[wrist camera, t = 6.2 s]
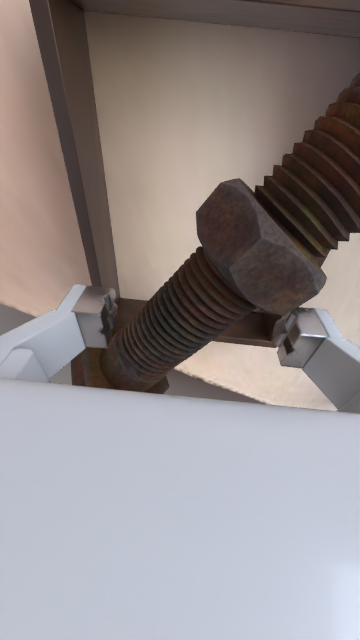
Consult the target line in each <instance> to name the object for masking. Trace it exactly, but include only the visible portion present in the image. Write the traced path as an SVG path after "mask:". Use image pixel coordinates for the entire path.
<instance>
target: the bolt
mask: <svg viewBox="0 0 360 640" xmlns="http://www.w3.org/2000/svg"><path fill="white" fill-rule="evenodd" d="M196 223H197V235H198V238H199V240H200V242H201V244H202V246H203V247H198V248H197V249H196V253H192V254H191V255H190V258H189V259H187V260H186V261H185V263H184V265H182V266H180V268H179V269H178V270H177V271H176V272H175V273H174V275H173V276H172V277H170V278H169V281H167V282H165V283H164V286H162V287H161V288H160V289H159V290H158V291H157V292H156V293H155V295H154V296H153V297H152V298H151V299H150V300H149V301H148V302H147V303H146V304H145V305H144V306H143V307H142V309H140V310H139V312H138V313H137V314H136V315H135V316H134V317H133V318H132V319H131V321H129V322H128V323H127V325H126V326H123V325H122V324H120V323H118V322H117V324H116V327H115V328H114V329H113V330H111V333H112V337H111V340H110V343H109V345H108V348H94V347H86V348H85V349H84V350H83V351H82V352H80V353H79V354H78V355H77V356H76V357H75V358H73V359H72V360H71V375H72V385H74V386H84V387H94V388H105V389H115V390H125V391H135V392H145V393H155V394H163V393H164V392H165V391H166V390H167V389H168V388H169V384H168V380H167V377H166V375H167V373H168V372H169V371H171V369H173V368H174V367H175V366H177V365H178V364H180V363H181V362H183V361H184V360H186V359H187V358H188V357H190V356H192V355H193V354H194V353H196V352H197V351H198V350H200V349H202V348H203V347H204V346H205V345H207V344H208V343H209V342H211V341H212V340H213V339H215V338H216V337H218V336H219V335H220V334H221V333H223V332H224V331H225V330H226V329H228V328H230V327H231V326H232V324H235V323H237V322H238V320H240V319H242V318H244V316H245V315H248V314H250V313H251V310H255V309H257V308H259V309H260V310H262V311H264V312H267V313H270V314H276V315H282V316H285V315H286V314H288V313H289V312H291V311H293V310H294V309H296V308H297V307H299V306H300V305H302V304H303V303H305V302H306V301H308V300H310V299H311V298H313V297H314V296H316V295H317V294H318V293H319V292H320V290H321V289H322V288H323V286H324V285H325V282H326V279H327V277H326V275H325V274H324V272H323V271H322V269H321V268H320V267H319V266H318V264H317V257H326V258H327V249H336V250H338V241H349V235H350V233H360V74H358V75H357V76H356V77H355V78H354V79H353V81H352V84H351V86H350V87H349V88H347V89H344V90H343V91H342V92H341V93H340V94H339V96H338V99H337V102H336V103H333V104H330V105H329V107H328V109H327V111H326V116H325V117H322V116H320V117H319V118H318V119H317V120H316V121H315V125H314V130H308V131H305V134H304V138H303V143H294V146H293V152H292V154H285V155H284V156H283V161H282V166H281V165H274V166H273V176H264V186H257V185H255V193H254V192H253V191H252V190H251V189H250V188H249V187H248V186H247V185H246V184H245V183H244V182H243V181H242V180H240V179H239V178H238V179H232V180H229V181H225V182H222V183H220V184H219V185H218V186H217V188H216V189H215V190H214V191H213V192H212V194H211V195H210V196H209V197H208V198H207V200H206V201H205V202H204V203H203V205H202V206H201V207H200V208H199V209H198V211H197V212H196Z"/></svg>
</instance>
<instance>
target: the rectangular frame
mask: <svg viewBox="0 0 360 640" xmlns="http://www.w3.org/2000/svg"><path fill="white" fill-rule="evenodd" d="M29 3H30V7H31V12H32V16H33V21H34V25H35V30H36V34H37V39H38V43H39V48H40V52H41V57H42V61H43V66H44V70H45V75H46V79H47V84H48V88H49V93H50V97H51V102H52V106H53V111H54V116H55V120H56V125H57V129H58V134H59V138H60V143H61V147H62V152H63V156H64V161H65V165H66V170H67V174H68V179H69V183H70V188H71V192H72V197H73V201H74V206H75V210H76V215H77V219H78V224H79V228H80V233H81V237H82V242H83V246H84V251H85V255H86V260H87V264H88V269H89V273H90V278H91V282H92V286H97V287H105V288H113V289H114V290H115V293H116V299H115V301H114V303H115V304H116V305H117V306H118V319H117V322H118V323H120V324H122V325H123V326H126V325H127V323H128V322H129V321H131V319H132V318H133V317H134V316H135V315H136V314H137V313H138V312H139V310H140V309H142V307H143V306H144V305H145V304H146V303H147V302H148V301H141V300H132V299H123V298H120V292H119V284H118V277H117V269H116V261H115V253H114V245H113V238H112V230H111V222H110V214H109V206H108V199H107V191H106V183H105V175H104V167H103V160H102V152H101V144H100V136H99V128H98V121H97V113H96V105H95V97H94V89H93V82H92V74H91V66H90V58H89V50H88V43H87V35H86V27H85V19H84V12H83V10H86V11H96V12H106V13H116V14H126V15H136V16H146V17H156V18H166V19H176V20H186V21H196V22H206V23H216V24H226V25H236V26H246V27H256V28H266V29H276V30H286V31H296V32H306V33H316V34H326V35H336V36H346V37H356V38H360V0H29ZM330 250H331V249H327V255H328V253H329V251H330ZM325 259H326V257H317V264H318V266H319V267H320V268H321V266H322V264H323V262H324V260H325ZM281 318H282V317H281V315H276V314H270V313H267V312H263V314H262V313H253V312H251V313H250V314H248V315H245V316H244V318H242V319H240V320H238V322H237V323H235V324H232V326H231V327H230V328H228V329H226V330H225V331H224V332H223V333H221V334H220V335H219V336H218V337H216V338H215V339H213V340H212V341H216V342H225V343H234V344H244V345H253V346H262V347H271V348H276V347H277V346H276V345H275V344H274V341H273V328H274V326H275V323H276V321H278V320H280V319H281Z"/></svg>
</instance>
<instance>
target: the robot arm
mask: <svg viewBox="0 0 360 640" xmlns="http://www.w3.org/2000/svg"><path fill="white" fill-rule="evenodd" d="M115 299H116V293H115V290H114V289H113V288H105V287H97V286H87V285H79V284H75V285H73V286H72V287H71V289H70V290H69V292H68V293H67V295H66V296H65V298H64V299H63V300H62V302H61V303H60V305H59V306H58V308H57V309H56V311H54V310H51V311H49V312H47V313H45V314H43V315H41V316H39V317H37V318H35V319H33V320H31V321H29V322H27V323H25V324H23V325H21V326H19V327H17V328H15V329H13V330H11V331H9V332H7V333H5V334H3V335H1V336H0V640H360V347H358V346H357V345H355V344H354V343H352V342H351V341H350V340H345V339H344V337H343V336H342V334H341V332H340V331H339V329H338V327H337V326H336V324H335V322H334V321H333V319H332V317H331V316H330V314H329V312H328V311H327V310H325V309H317V308H301V307H297V308H296V309H294V310H293V311H291V312H289V313H288V314H286V315H285V316H282V315H281V317H282V318H281V319H280V320H278V321H276V323H275V326H274V328H273V341H274V344H275V345H276V346H277V347H278V348H279V349H278V351H277V354H278V358H279V361H280V364H281V366H287V367H295V368H303V369H302V370H303V371H304V372H305V373H306V374H307V375H308V377H309V378H310V379H311V380H312V381H313V382H314V383H315V384H316V385H317V387H318V388H319V389H320V390H321V391H322V392H323V393H324V394H325V396H326V397H327V398H328V399H329V400H330V401H331V402H332V403H333V404H334V406H335V407H336V408H337V409H338V410H337V411H327V410H317V409H307V408H297V407H287V406H276V405H266V404H255V403H245V402H235V401H225V400H215V399H204V398H194V397H184V396H175V395H165V394H155V393H145V392H135V391H125V390H115V389H105V388H94V387H84V386H74V385H64V384H54V383H51V382H50V381H49V378H51V377H52V376H53V375H54V374H55V373H57V372H58V371H59V370H60V369H61V368H63V367H64V366H65V365H66V364H67V363H68V362H70V361H71V360H72V359H73V358H75V357H76V356H77V355H78V354H79V353H80V352H82V351H83V350H84V349H85V348H86V347H94V348H108V345H109V343H110V340H111V337H112V333H111V330H113V329H114V328H115V327H116V324H117V319H118V306H117V305H116V304H115V303H114V301H115Z"/></svg>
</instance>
